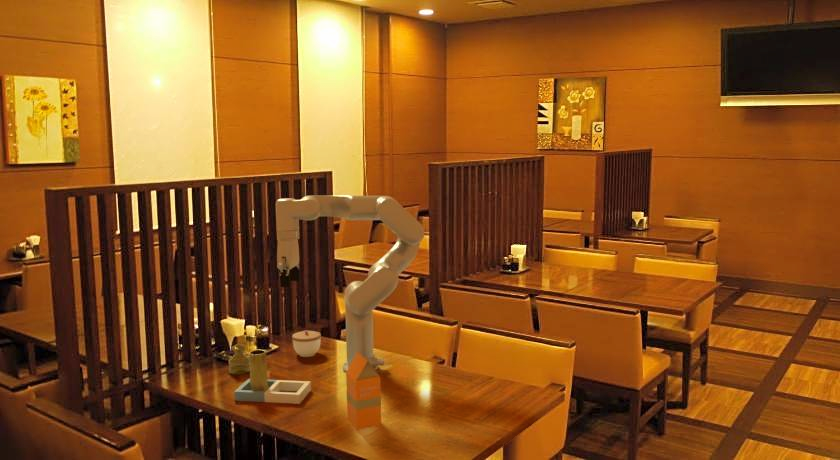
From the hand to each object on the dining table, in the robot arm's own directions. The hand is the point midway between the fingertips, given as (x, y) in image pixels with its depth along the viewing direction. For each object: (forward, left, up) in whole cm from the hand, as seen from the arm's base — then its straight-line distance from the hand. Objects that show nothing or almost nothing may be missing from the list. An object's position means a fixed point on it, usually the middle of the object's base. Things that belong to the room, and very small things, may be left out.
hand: (290, 283), depth 242 cm
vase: (+5, +20, -32) cm, 38 cm away
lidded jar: (+2, -21, -33) cm, 39 cm away
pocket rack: (0, +20, -32) cm, 38 cm away
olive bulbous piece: (+20, 0, -33) cm, 38 cm away
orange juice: (-34, +36, -32) cm, 59 cm away
